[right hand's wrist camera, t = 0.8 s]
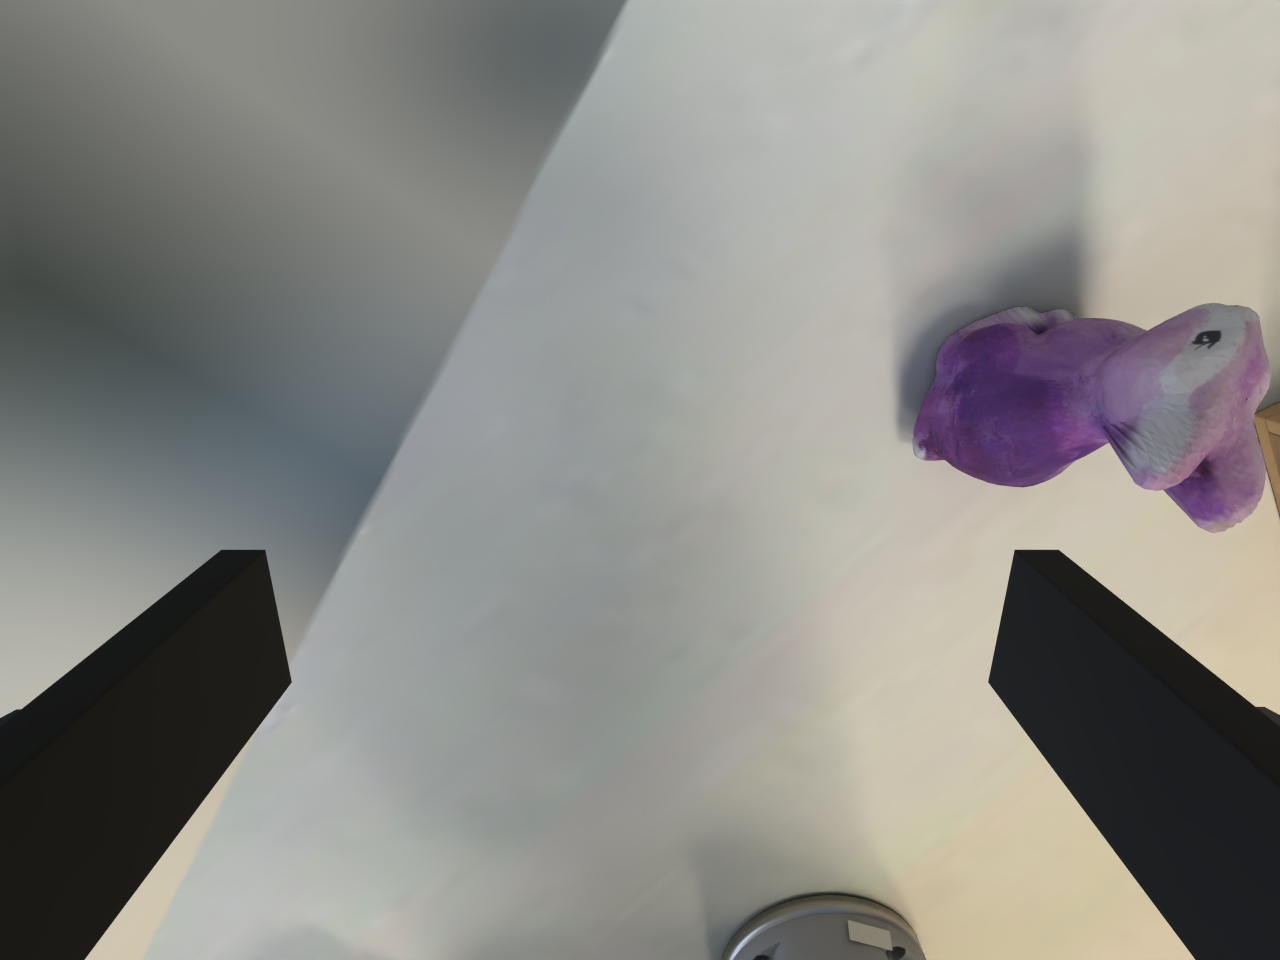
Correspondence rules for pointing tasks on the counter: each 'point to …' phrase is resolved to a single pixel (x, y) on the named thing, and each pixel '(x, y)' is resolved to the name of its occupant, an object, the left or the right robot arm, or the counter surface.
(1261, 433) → the cabinet
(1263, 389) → the figurine
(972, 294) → the counter surface
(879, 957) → the right robot arm
